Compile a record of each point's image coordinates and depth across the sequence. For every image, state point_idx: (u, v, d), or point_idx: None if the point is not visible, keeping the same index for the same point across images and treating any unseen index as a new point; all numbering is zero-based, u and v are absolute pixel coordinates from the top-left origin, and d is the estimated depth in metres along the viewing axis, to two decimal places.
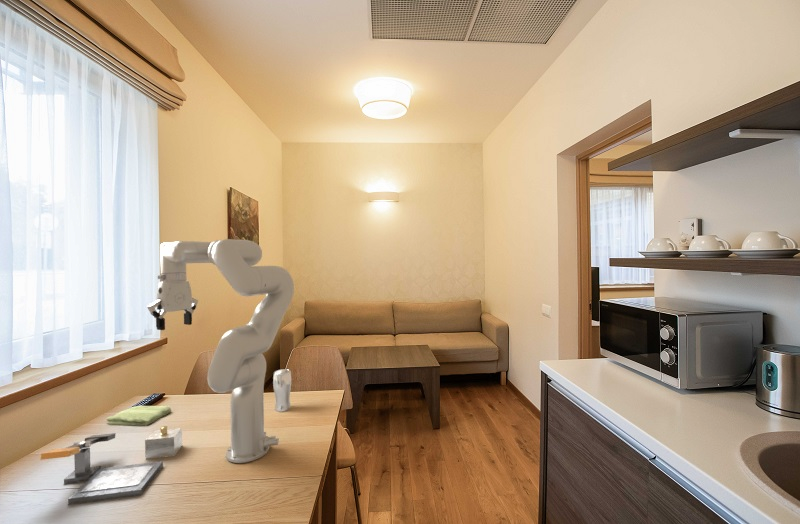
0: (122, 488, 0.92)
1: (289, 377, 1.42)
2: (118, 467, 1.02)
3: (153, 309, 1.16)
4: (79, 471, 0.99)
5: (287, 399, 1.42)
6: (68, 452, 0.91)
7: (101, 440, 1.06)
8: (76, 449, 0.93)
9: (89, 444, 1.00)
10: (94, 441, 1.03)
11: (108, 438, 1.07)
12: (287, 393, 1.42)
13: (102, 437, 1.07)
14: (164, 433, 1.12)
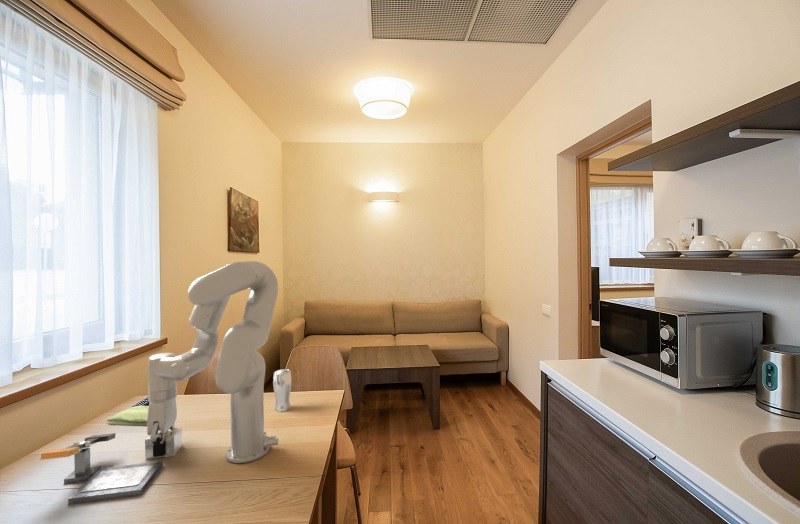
0: (122, 488, 0.92)
1: (289, 377, 1.42)
2: (118, 467, 1.02)
3: None
4: (79, 471, 0.99)
5: (287, 399, 1.42)
6: (68, 452, 0.91)
7: (101, 440, 1.06)
8: (76, 449, 0.93)
9: (89, 444, 1.00)
10: (94, 441, 1.03)
11: (108, 438, 1.07)
12: (287, 393, 1.42)
13: (102, 437, 1.07)
14: None
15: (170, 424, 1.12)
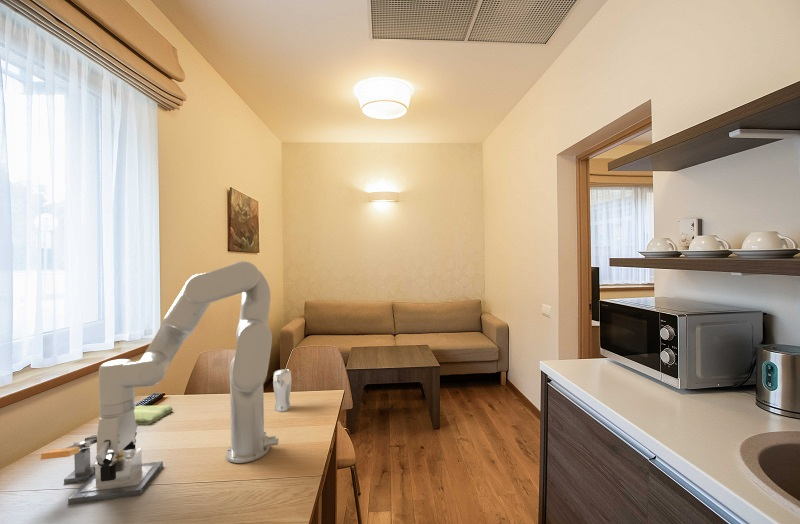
0: (122, 488, 0.92)
1: (289, 377, 1.42)
2: None
3: None
4: (79, 471, 0.99)
5: (287, 399, 1.42)
6: (68, 452, 0.91)
7: None
8: (76, 449, 0.93)
9: (89, 444, 1.00)
10: (94, 441, 1.03)
11: None
12: (287, 393, 1.42)
13: None
14: (119, 455, 0.96)
15: (126, 442, 0.96)
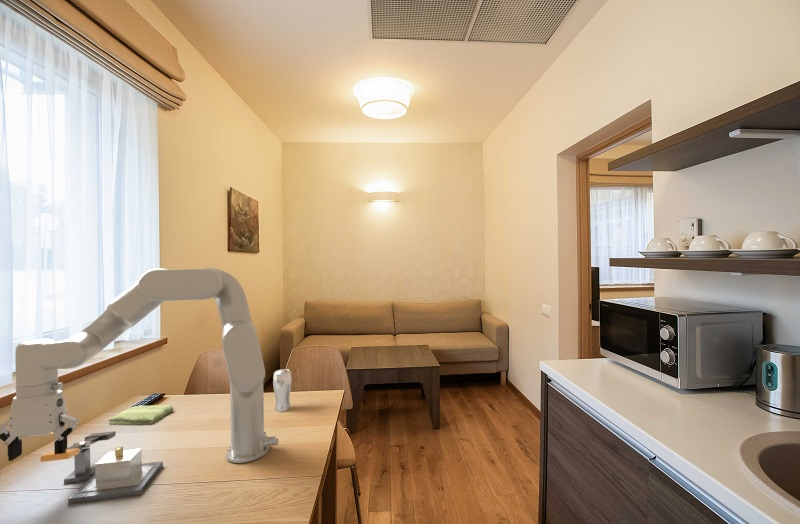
0: (122, 488, 0.92)
1: (289, 377, 1.42)
2: None
3: None
4: (79, 471, 0.99)
5: (287, 399, 1.42)
6: (68, 454, 0.90)
7: (101, 439, 1.06)
8: (76, 451, 0.93)
9: (89, 444, 1.00)
10: (94, 440, 1.03)
11: (108, 437, 1.07)
12: (287, 393, 1.42)
13: (102, 436, 1.07)
14: (119, 455, 0.96)
15: (28, 431, 0.88)
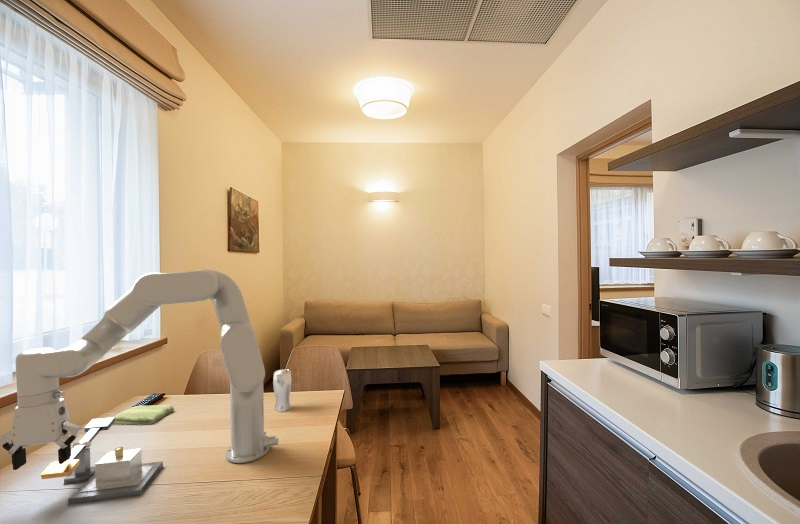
0: (122, 488, 0.92)
1: (289, 377, 1.42)
2: None
3: None
4: (79, 471, 0.99)
5: (287, 399, 1.42)
6: (68, 472, 0.90)
7: (101, 429, 1.06)
8: (76, 464, 0.93)
9: (89, 444, 1.00)
10: (94, 435, 1.03)
11: (108, 427, 1.07)
12: (287, 393, 1.42)
13: (101, 427, 1.06)
14: (119, 455, 0.96)
15: (31, 440, 0.89)
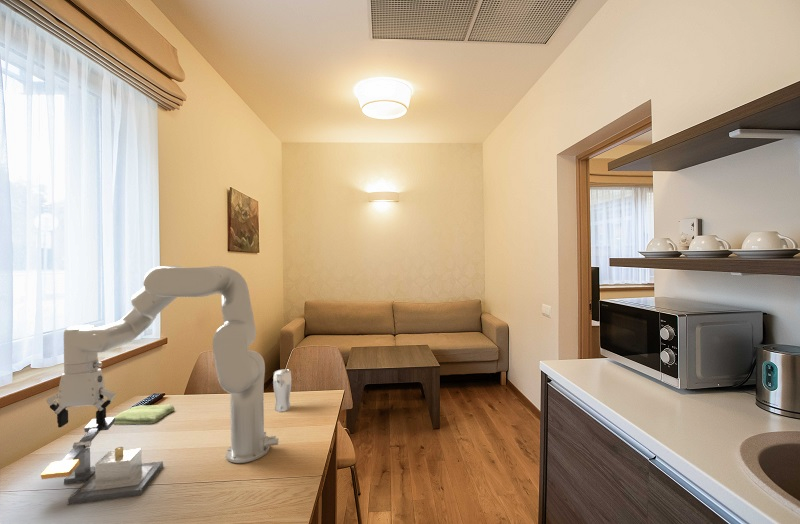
0: (122, 488, 0.92)
1: (289, 377, 1.42)
2: None
3: None
4: (79, 471, 0.99)
5: (287, 399, 1.42)
6: (68, 472, 0.90)
7: (101, 429, 1.06)
8: (76, 464, 0.93)
9: (89, 444, 1.00)
10: (94, 435, 1.03)
11: (108, 427, 1.07)
12: (287, 393, 1.42)
13: (101, 427, 1.06)
14: (119, 455, 0.96)
15: (74, 402, 1.05)
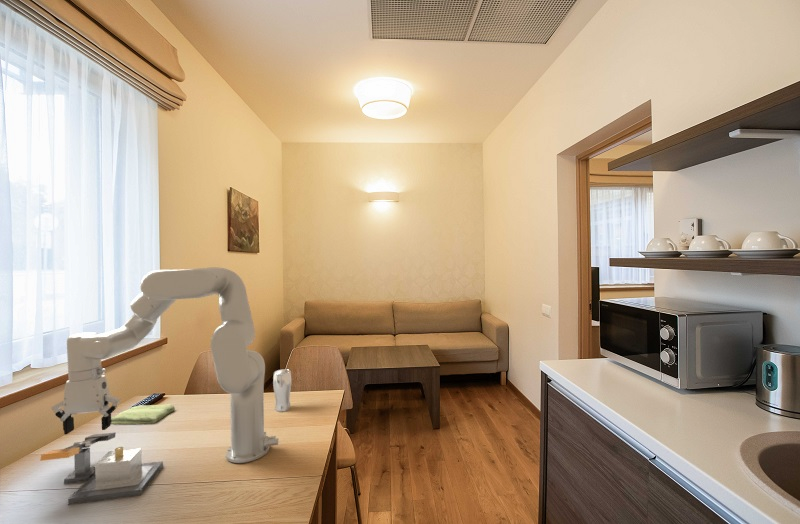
0: (122, 488, 0.92)
1: (289, 377, 1.42)
2: None
3: None
4: (79, 471, 0.99)
5: (287, 399, 1.42)
6: (68, 453, 0.91)
7: (101, 440, 1.06)
8: (76, 450, 0.93)
9: (89, 444, 1.00)
10: (94, 441, 1.03)
11: (108, 437, 1.07)
12: (287, 393, 1.42)
13: (102, 437, 1.07)
14: (119, 455, 0.96)
15: (79, 409, 1.06)
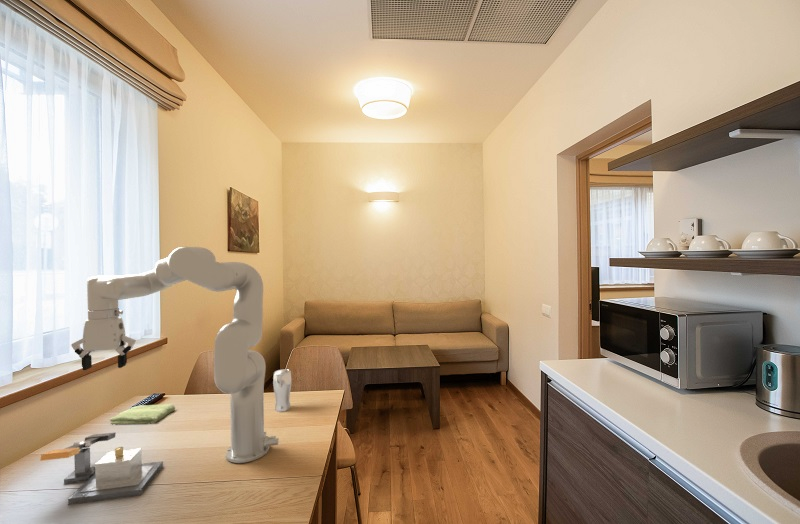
0: (122, 488, 0.92)
1: (289, 377, 1.42)
2: None
3: None
4: (79, 471, 0.99)
5: (287, 399, 1.42)
6: (68, 453, 0.91)
7: (101, 440, 1.06)
8: (76, 450, 0.93)
9: (89, 444, 1.00)
10: (94, 441, 1.03)
11: (108, 437, 1.07)
12: (287, 393, 1.42)
13: (102, 437, 1.07)
14: (119, 455, 0.96)
15: (97, 347, 1.11)
